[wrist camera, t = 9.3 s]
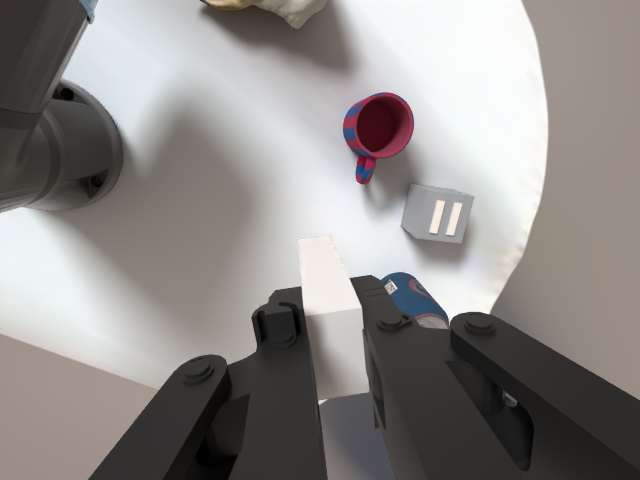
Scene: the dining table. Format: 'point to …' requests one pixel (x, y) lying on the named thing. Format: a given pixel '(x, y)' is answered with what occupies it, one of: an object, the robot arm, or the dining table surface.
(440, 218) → the slate numbered block
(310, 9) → the ceramic sculpture
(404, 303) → the soda can
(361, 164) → the mug
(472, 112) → the dining table surface
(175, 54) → the dining table surface
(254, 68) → the dining table surface
